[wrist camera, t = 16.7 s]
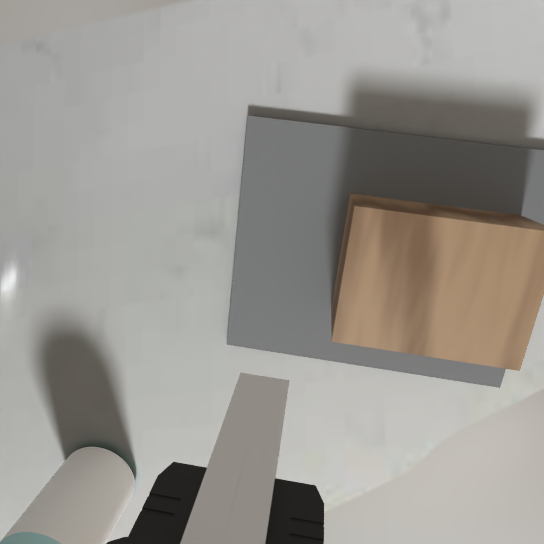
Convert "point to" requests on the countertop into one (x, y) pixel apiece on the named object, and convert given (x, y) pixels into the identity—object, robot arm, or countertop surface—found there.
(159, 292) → the countertop surface
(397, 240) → the walnut block
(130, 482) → the can
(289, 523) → the robot arm
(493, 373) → the mat
